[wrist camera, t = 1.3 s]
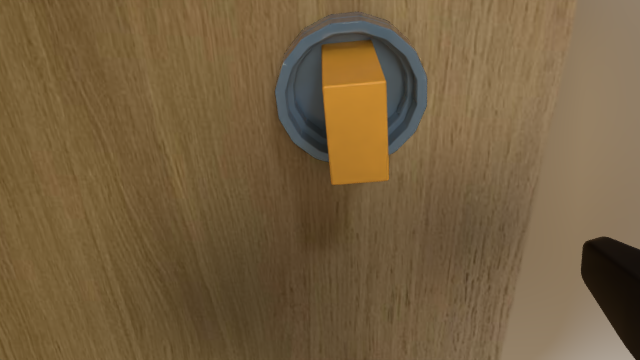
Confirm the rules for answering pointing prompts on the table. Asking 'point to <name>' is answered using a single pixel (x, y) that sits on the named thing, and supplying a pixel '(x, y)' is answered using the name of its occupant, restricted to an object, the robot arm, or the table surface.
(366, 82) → the block
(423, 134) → the table surface
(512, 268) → the table surface
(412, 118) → the bowl
